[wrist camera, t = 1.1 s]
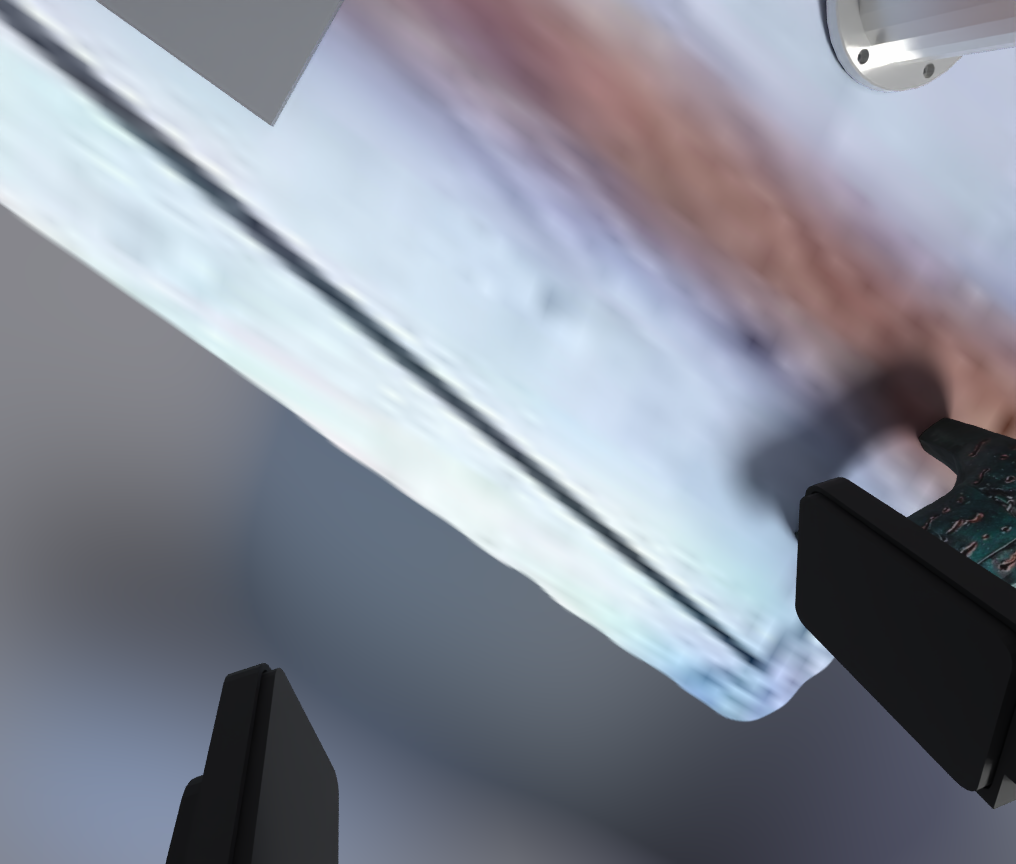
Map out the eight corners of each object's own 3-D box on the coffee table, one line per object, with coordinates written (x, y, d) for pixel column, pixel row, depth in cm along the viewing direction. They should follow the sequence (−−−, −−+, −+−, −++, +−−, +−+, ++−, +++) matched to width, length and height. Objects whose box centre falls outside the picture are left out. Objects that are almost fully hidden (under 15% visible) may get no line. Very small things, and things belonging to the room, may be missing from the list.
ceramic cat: (796, 570, 59) (989, 745, 42) (770, 532, 56) (966, 704, 39) (962, 441, 58) (1235, 567, 40) (944, 395, 55) (1232, 510, 37)
